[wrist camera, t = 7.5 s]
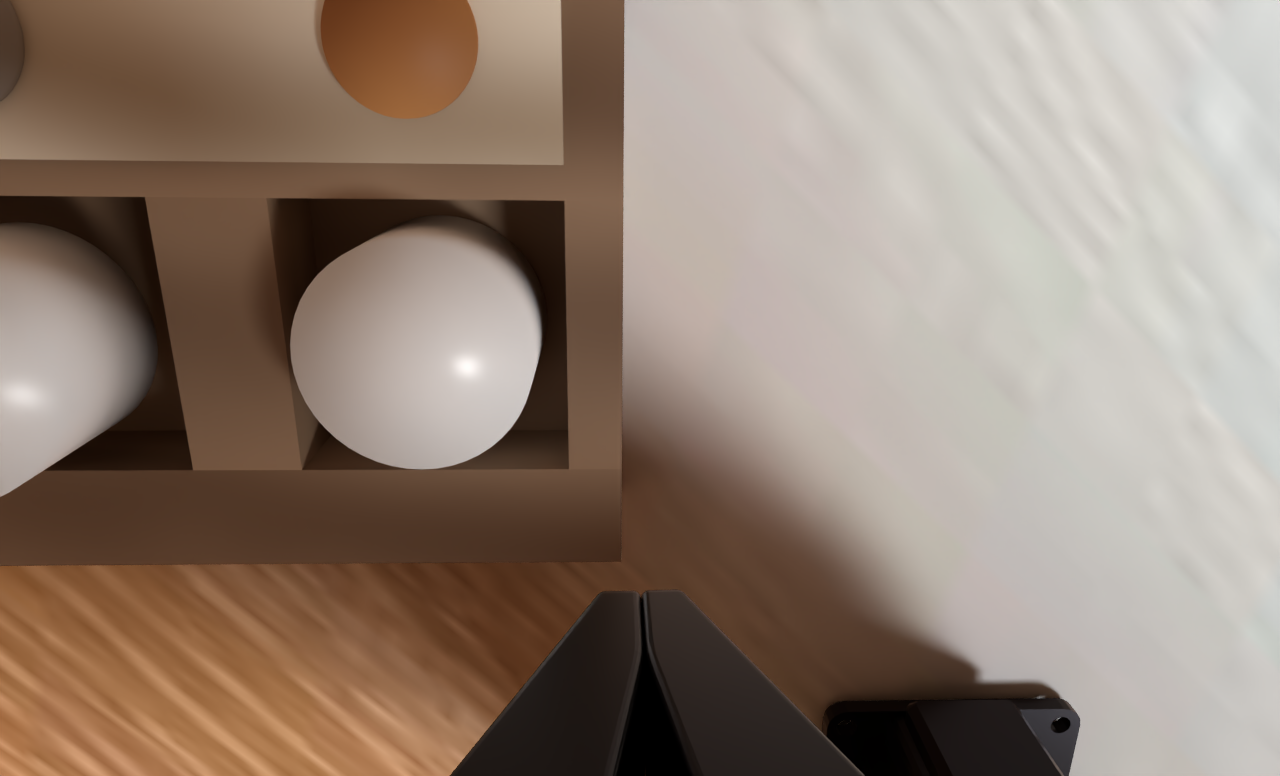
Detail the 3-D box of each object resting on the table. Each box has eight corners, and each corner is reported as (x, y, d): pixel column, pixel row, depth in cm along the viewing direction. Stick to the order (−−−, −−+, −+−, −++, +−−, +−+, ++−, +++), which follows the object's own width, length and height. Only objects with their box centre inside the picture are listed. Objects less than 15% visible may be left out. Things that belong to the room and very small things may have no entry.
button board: (619, 494, 19) (621, 570, 16) (-322, 497, 18) (-515, 579, 15) (622, -92, 15) (625, -143, 12) (-568, -117, 15) (-895, -179, 11)
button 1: (549, 409, 17) (537, 469, 14) (355, 409, 17) (305, 469, 14) (544, 216, 16) (529, 240, 13) (335, 214, 16) (275, 238, 13)
